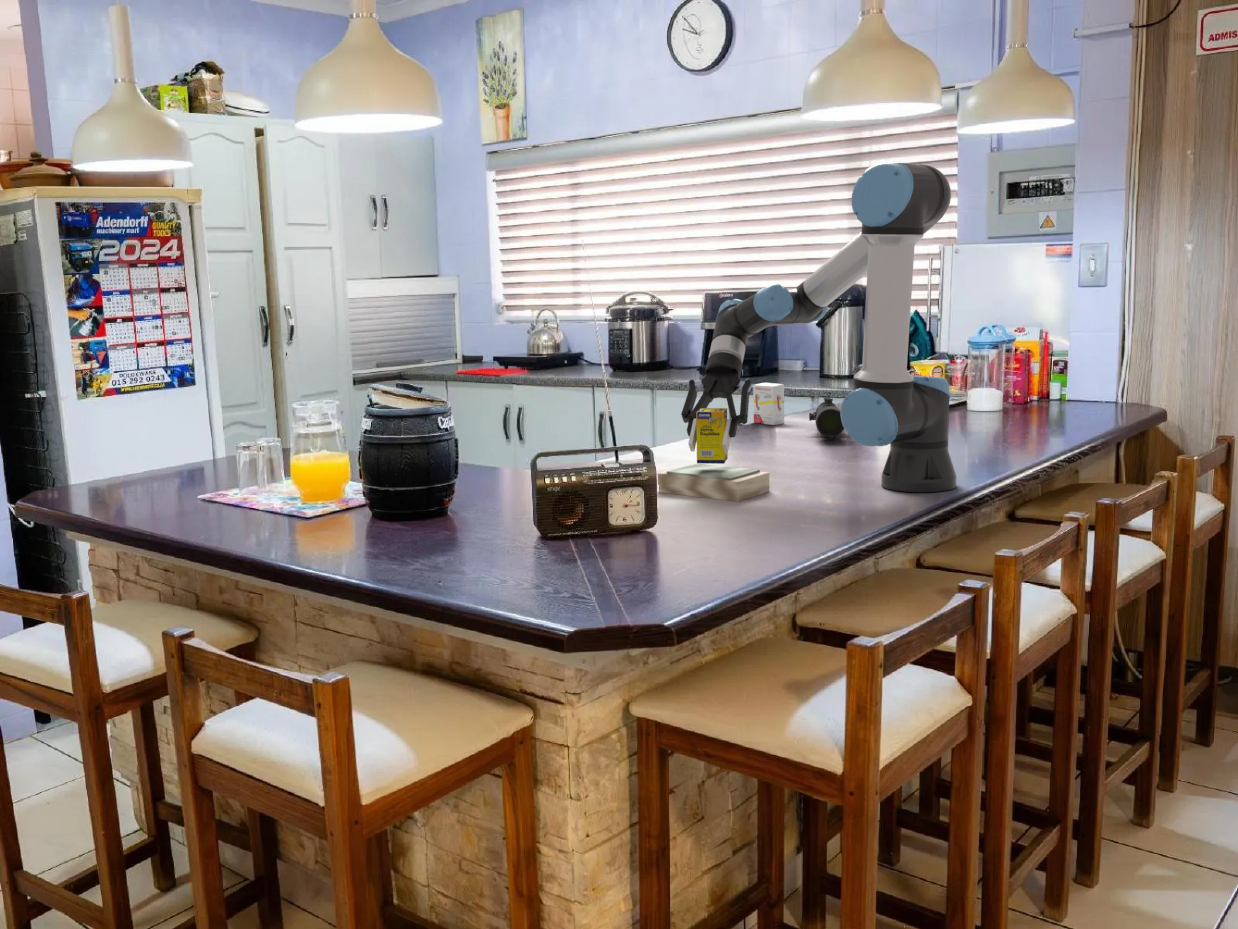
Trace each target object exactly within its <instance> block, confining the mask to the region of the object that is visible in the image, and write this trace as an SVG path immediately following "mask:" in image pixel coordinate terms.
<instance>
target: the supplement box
mask: <svg viewBox="0 0 1238 929" xmlns="http://www.w3.org/2000/svg"><path fill="white" fill-rule="evenodd" d="M727 419H728V408H725V407H719V408H718V407H714V408H713V407H712V408H711V407H710V408H709V407H707V408H700V409H699V410H698V411H697V412H696V433H697V441H696V464H707V465H717V464H719V465H721V464H723V465H724V464H725V463H726V461H727V460H728V452H729V451H728V452H724V449H723V446H722V442H723V437H724V432H725V426H726V421H727Z"/></svg>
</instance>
